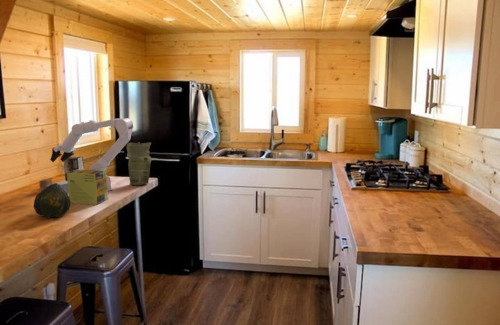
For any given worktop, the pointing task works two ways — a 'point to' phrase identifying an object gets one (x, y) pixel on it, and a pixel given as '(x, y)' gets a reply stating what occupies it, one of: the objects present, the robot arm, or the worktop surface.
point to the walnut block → (45, 183)
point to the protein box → (87, 186)
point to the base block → (63, 185)
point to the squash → (52, 202)
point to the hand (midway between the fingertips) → (56, 160)
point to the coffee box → (73, 164)
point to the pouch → (139, 163)
